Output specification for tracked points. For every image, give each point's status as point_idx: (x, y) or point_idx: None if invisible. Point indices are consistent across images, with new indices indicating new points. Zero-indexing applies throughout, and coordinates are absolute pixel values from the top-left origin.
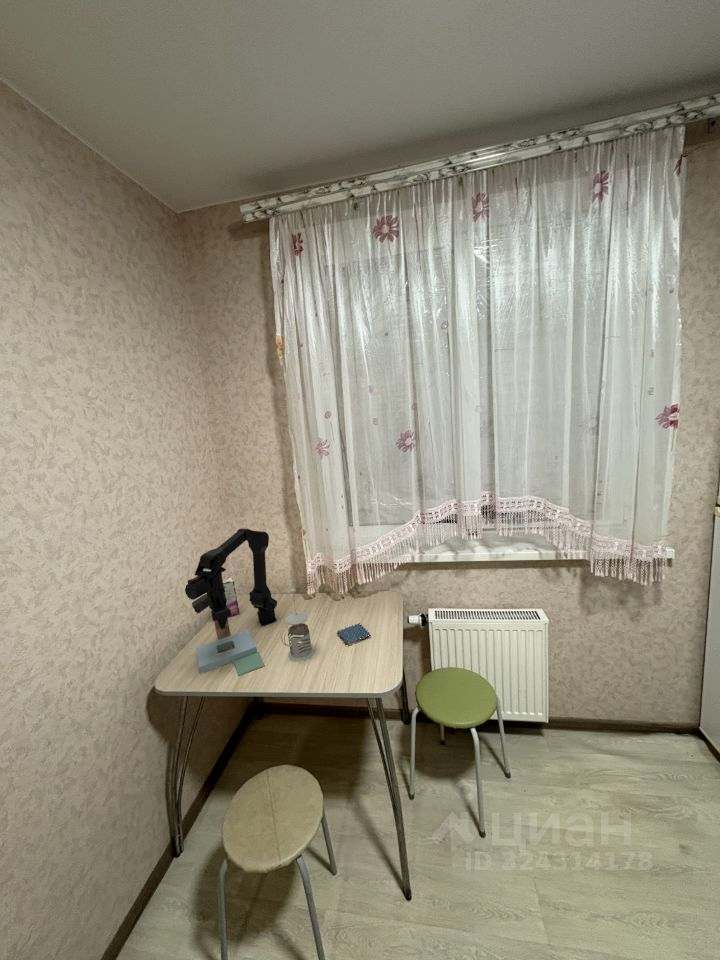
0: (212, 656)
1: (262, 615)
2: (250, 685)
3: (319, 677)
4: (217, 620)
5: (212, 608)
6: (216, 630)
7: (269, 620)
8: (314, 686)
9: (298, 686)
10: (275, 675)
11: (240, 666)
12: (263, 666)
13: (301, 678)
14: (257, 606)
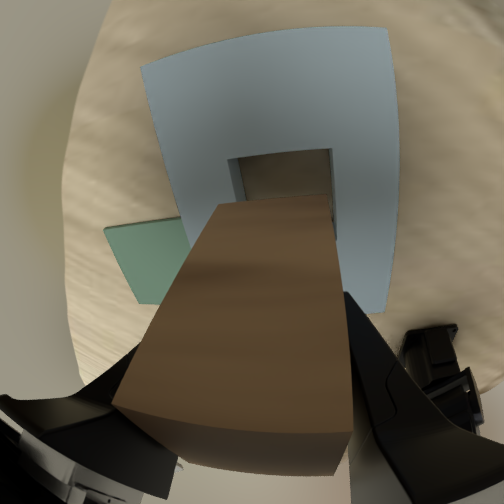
0: (215, 126)
1: (423, 365)
2: (71, 255)
3: (99, 358)
4: (93, 381)
5: (394, 488)
6: (188, 256)
7: (404, 358)
8: (79, 345)
9: (76, 329)
10: (103, 310)
11: (146, 239)
12: (138, 298)
13: (95, 341)
14: (436, 399)
